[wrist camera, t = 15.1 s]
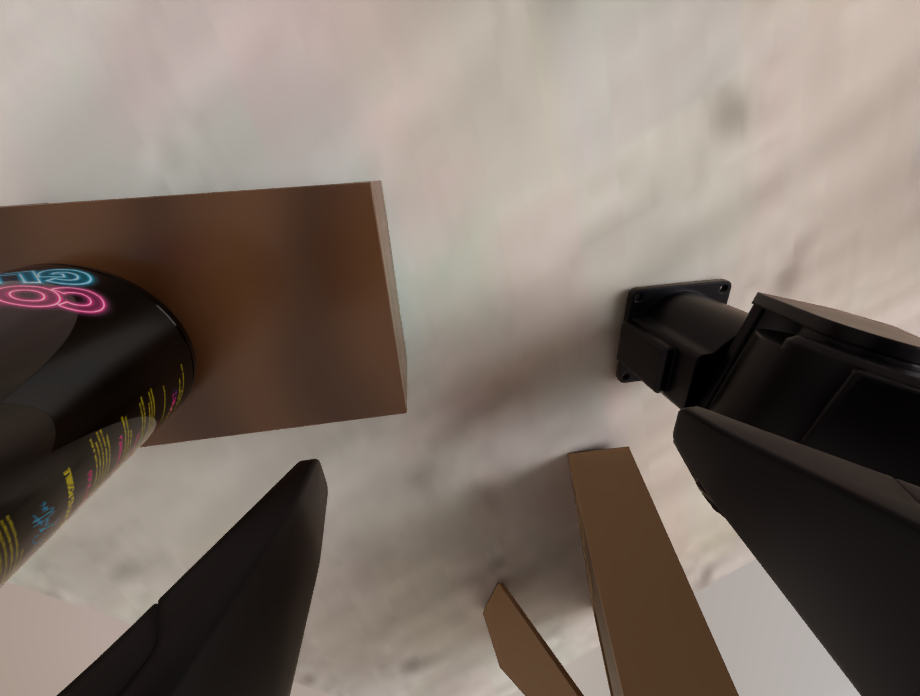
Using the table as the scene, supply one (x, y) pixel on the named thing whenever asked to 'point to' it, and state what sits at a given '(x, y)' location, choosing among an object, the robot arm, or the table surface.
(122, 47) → the table surface
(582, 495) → the photo frame
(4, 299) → the supplement container
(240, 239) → the shelf
